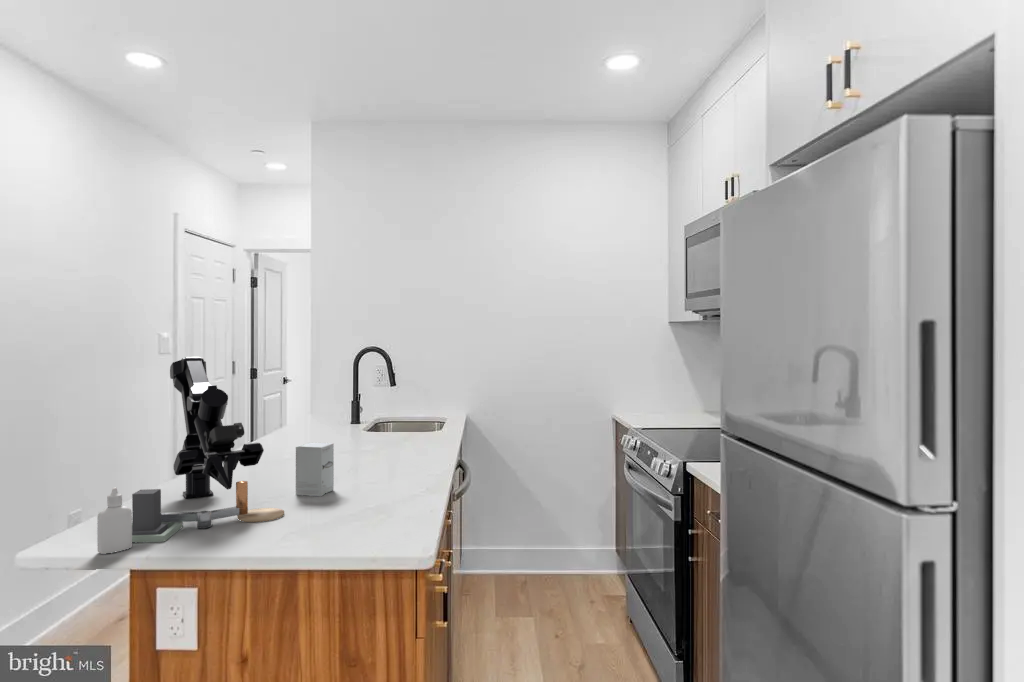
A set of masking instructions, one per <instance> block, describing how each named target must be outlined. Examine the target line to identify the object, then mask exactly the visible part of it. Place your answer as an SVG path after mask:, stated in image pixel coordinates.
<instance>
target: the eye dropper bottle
mask: <svg viewBox="0 0 1024 682" xmlns="http://www.w3.org/2000/svg"><path fill="white" fill-rule="evenodd" d="M106 506H107V507H106V508H104V509H102V510H100V511H99V512H98V514H97V523H96V525H97V527H96V528H97V531H96V532H97V533H96V534H97V541H96V542H97V553H99V554H101V555H107V554H106V553H111V552H115V551H121V550H124V551H126V550H125V549H127V550H129V548H130V549H131V548H132V547H133V543H132V508H130V507H129V506H126V505H123V494H122V493H119V491H118V488H117V487H112V489H111V493H110V494H108V495H107V501H106ZM121 552H122V551H121ZM111 554H112V553H111Z"/></svg>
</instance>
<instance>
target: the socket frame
mask: <svg viewBox="0 0 1024 682" xmlns="http://www.w3.org/2000/svg"><path fill="white" fill-rule="evenodd" d="M162 523H168V528H169V529H167V530H166V531H165V532H163V533H162V534H157V535H132V542H135V543H134V544H136V543H137V542H143V543H159V542H161V543H162V542H164V541H165V542H166V541H167V540H168V539H170V538H171V537H172V536H174V535H175V534H176V533H177V532H178V531H179V530H181V529H182V528H183V527H184V522H161V524H162ZM181 527H182V528H181ZM132 528H133V523H132ZM180 528H181V529H180Z"/></svg>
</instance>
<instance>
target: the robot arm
mask: <svg viewBox="0 0 1024 682" xmlns="http://www.w3.org/2000/svg"><path fill="white" fill-rule="evenodd" d="M169 377H170V379H171V380H172V384H173V387H174V388H175V390H177V391H178V392H179V393H180V394H181V399H182V407H183V416H184V423H185V430H186V431H185V432H186V436H185V438H184V440H183V445H182V448H181V449H180V450H179V452H178V453H177V454H176V457H175V461H174V463H173V471H174V474H175V476H182V475H185V491H182V495H183V496H184V499H193V497H194V498H199V497H200V498H201V496H202V497H208V496H209V495H210V496H214V492H213V490H211V478H212V479H214V480H215V481H216V482H218V483H219V484H220V485H221V486H222V487H224V489H226V490H231V489H232V487H233V478H234V477H233V475H234V471H235V470H236V468H237V466H238V464H240V465H241V466H243V467H251V466H256V465H259V462H260V460H261V457H262V456H263V453H264V452H265V451H264V450H265V449H264V447H263V445H262V444H261V443H260V442H253V443H251V442H250V443H244V444H243V445H242V448H241V449H238V450H237V449H236V450H232V449H233V448H234V447H235V441H236V440H238V439H239V438H240V439H241V438H242V437H243V436H244V435H245V429H244V425H243V424H242V422H234V423H233V424H230V425H229V424H227V425H223V424H224V423H223V422H222V420H223V419H224V417H225V413H226V410H227V405H228V401H229V395H228V394H227V393H226V392H225V391H224V390H222V389H220V388H218V386H217V385H211V383H210V382H209V378H208V374H207V362H206V361H205V359H204V357H201V356H184V357H182V358H181V359H180V360H177V361H174V362H171V364H170V367H169ZM210 496H209V497H210Z"/></svg>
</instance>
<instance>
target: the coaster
mask: <svg viewBox="0 0 1024 682" xmlns="http://www.w3.org/2000/svg"><path fill="white" fill-rule="evenodd" d="M283 515H284V516H285V510H283V509H281V508H276V507H261V508H253V509H248V513H247V514H245V515H237V516H236V517H237V518H238V519H239V520H241V521H240V522H242V521H244V522H243V523H264V522H263V521H266V522H270V521H269V520H272V521H274V519H276V520H278V519H277V518H279V519H281V518H283V517H284V516H283ZM282 516H283V517H282ZM280 517H281V518H280ZM238 519H237V520H238ZM239 520H238V521H239Z"/></svg>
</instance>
